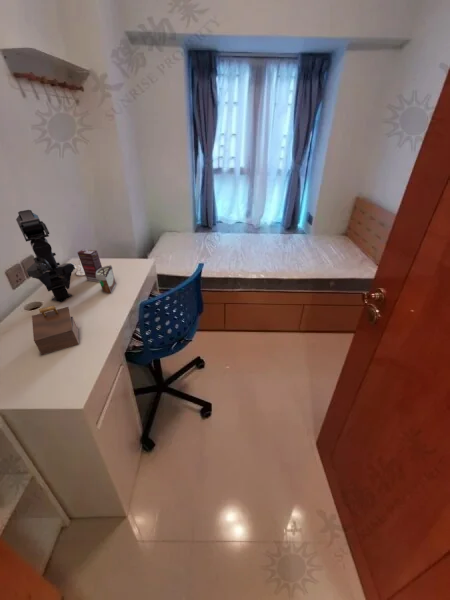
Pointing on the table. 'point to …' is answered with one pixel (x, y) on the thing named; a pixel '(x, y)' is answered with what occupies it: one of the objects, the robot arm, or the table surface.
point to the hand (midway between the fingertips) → (59, 289)
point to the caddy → (59, 340)
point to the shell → (80, 270)
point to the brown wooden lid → (51, 322)
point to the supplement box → (90, 263)
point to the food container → (106, 278)
